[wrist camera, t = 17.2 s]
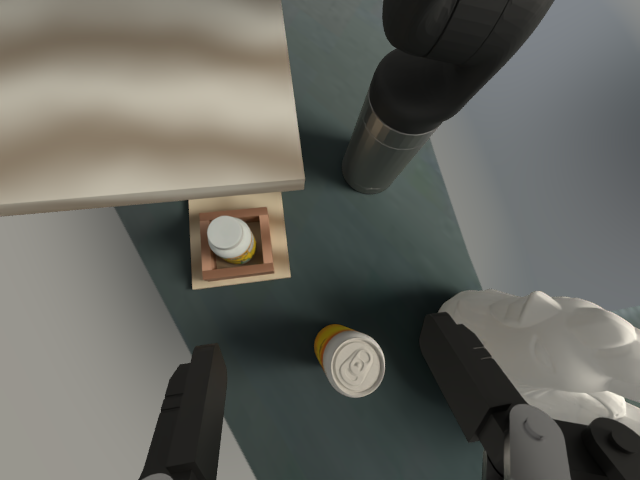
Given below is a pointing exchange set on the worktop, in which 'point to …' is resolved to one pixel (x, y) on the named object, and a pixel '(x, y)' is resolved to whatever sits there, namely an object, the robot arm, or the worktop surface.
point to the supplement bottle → (231, 239)
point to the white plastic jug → (558, 352)
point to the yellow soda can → (350, 360)
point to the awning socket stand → (153, 116)
